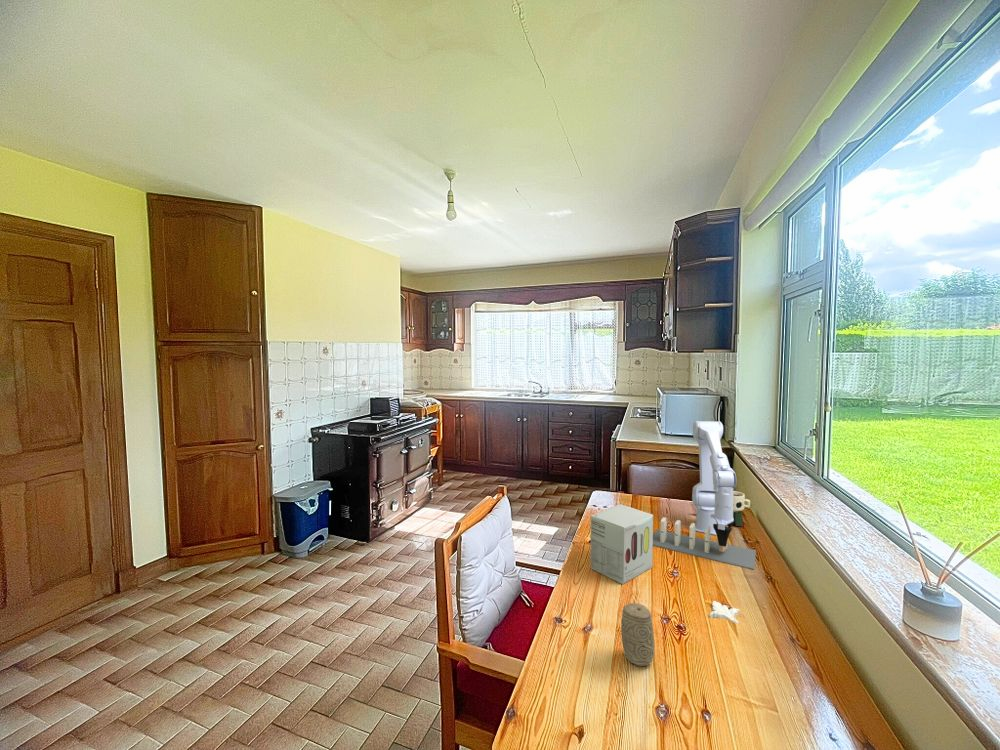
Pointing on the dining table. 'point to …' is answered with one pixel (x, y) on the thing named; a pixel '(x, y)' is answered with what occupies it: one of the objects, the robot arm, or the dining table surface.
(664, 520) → the tile
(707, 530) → the tile
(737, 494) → the character mug
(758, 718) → the dining table surface
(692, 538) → the tile
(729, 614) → the acanthus leaf ornament
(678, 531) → the tile
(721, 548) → the tile end
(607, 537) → the supplement box
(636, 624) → the carving
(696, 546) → the mat
